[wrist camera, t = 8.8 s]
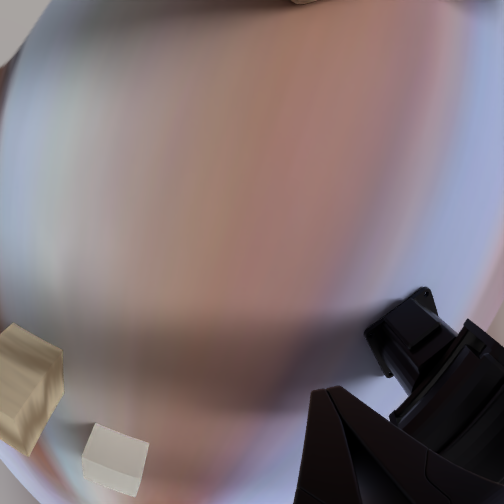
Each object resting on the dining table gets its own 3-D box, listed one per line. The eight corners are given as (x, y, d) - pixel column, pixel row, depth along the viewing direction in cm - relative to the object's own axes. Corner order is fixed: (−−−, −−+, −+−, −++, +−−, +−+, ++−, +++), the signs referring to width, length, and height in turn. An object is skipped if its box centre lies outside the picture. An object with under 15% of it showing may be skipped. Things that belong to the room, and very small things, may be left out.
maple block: (13, 322, 19) (-43, 376, 10) (62, 350, 20) (13, 419, 11) (18, 367, 20) (-24, 421, 12) (64, 392, 21) (28, 457, 13)
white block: (95, 421, 23) (81, 456, 18) (149, 442, 24) (141, 479, 19) (94, 448, 24) (83, 478, 19) (142, 465, 25) (135, 498, 20)
